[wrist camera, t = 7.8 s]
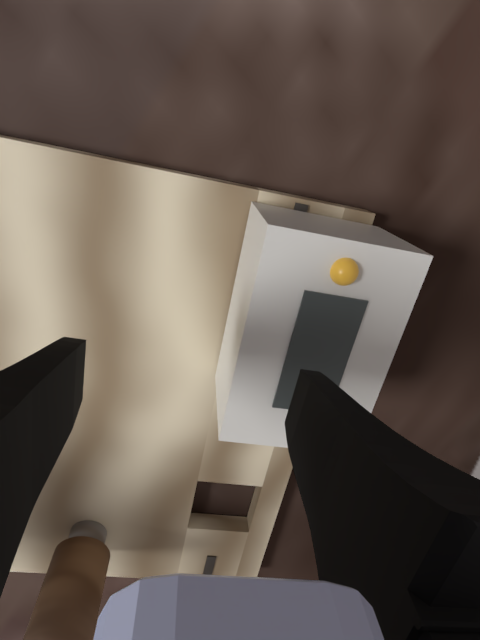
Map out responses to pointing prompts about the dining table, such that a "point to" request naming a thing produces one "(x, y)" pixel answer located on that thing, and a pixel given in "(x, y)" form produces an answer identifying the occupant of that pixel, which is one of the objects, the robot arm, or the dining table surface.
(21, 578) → the dining table surface
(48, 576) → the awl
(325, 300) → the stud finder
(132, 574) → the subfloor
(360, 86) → the dining table surface
